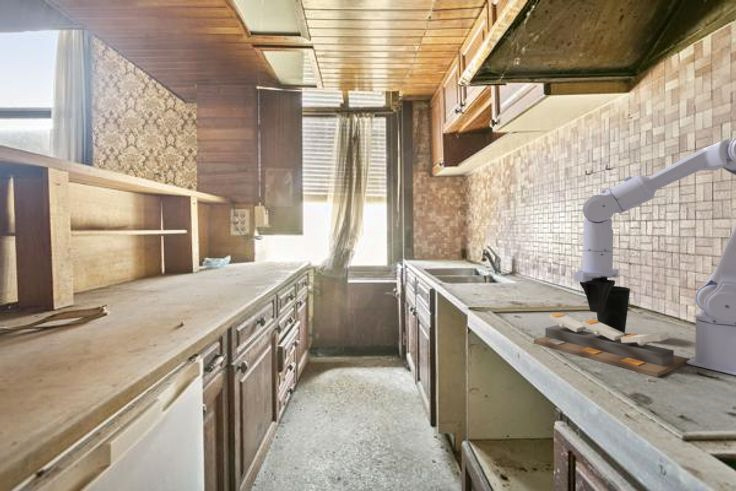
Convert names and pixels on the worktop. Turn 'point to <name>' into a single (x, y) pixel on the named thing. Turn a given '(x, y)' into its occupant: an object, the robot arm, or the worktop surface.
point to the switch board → (615, 358)
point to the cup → (616, 309)
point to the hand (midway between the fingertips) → (596, 311)
